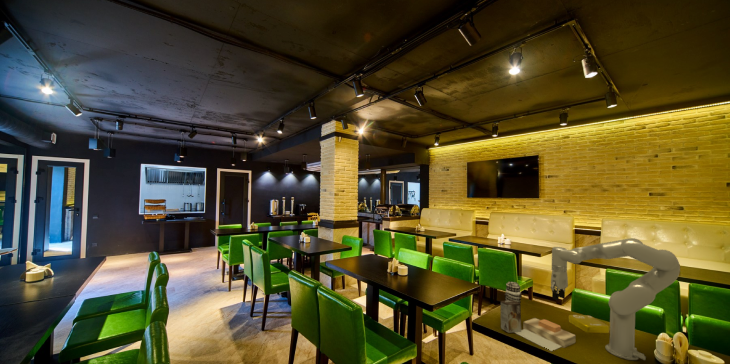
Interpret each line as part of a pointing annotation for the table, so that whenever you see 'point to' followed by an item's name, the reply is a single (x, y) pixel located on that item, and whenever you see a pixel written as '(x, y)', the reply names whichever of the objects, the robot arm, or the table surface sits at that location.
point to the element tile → (588, 324)
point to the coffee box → (510, 316)
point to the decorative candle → (513, 292)
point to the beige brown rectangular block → (550, 333)
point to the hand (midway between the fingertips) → (558, 298)
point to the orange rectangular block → (549, 325)
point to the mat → (538, 339)
